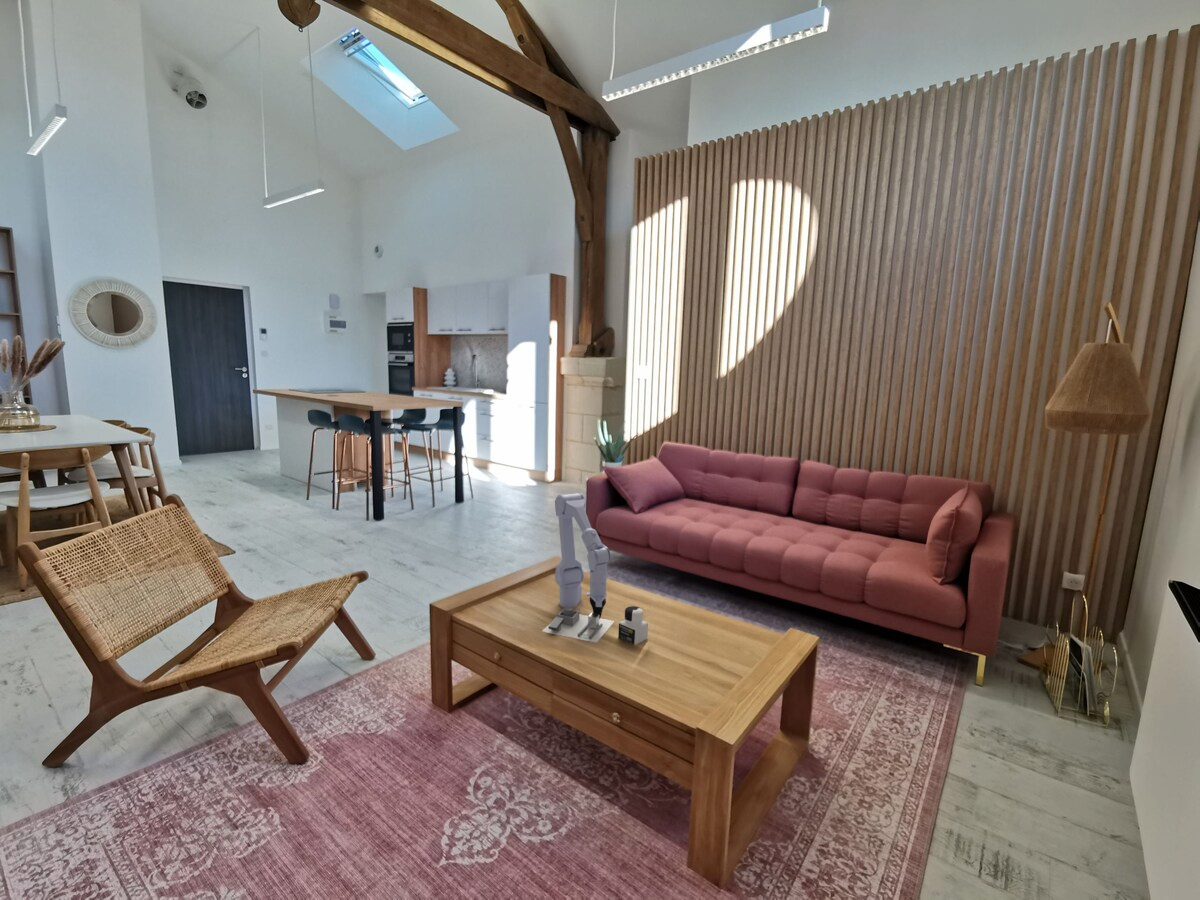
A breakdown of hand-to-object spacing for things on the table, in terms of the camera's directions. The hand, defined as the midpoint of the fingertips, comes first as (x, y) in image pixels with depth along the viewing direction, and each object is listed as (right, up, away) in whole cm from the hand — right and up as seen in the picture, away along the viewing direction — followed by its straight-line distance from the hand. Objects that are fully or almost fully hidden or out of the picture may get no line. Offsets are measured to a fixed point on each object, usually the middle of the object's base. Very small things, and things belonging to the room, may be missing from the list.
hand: (597, 618), depth 207 cm
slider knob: (-1, -2, -3) cm, 4 cm away
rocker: (-14, 0, -6) cm, 15 cm away
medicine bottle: (+12, -6, -10) cm, 16 cm away
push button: (-10, -1, +2) cm, 10 cm away
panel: (-6, -4, -2) cm, 8 cm away
